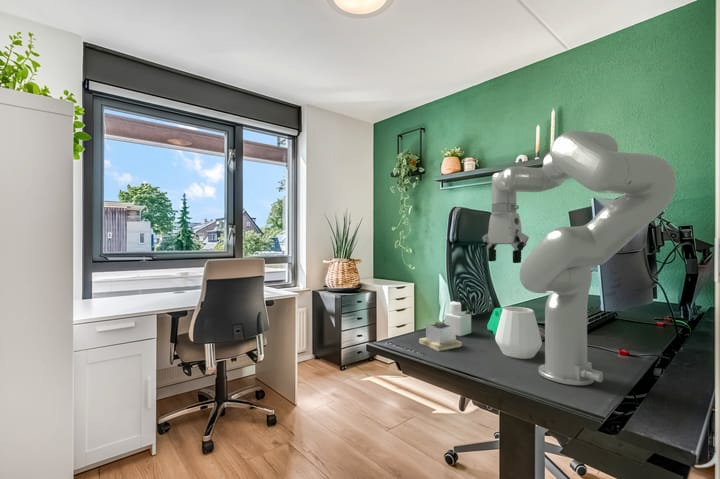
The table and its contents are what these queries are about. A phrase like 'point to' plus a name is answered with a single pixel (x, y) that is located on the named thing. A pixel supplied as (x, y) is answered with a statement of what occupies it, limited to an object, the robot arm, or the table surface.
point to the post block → (442, 346)
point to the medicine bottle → (459, 318)
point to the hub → (441, 334)
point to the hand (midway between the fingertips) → (504, 262)
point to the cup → (518, 333)
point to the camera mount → (494, 320)
